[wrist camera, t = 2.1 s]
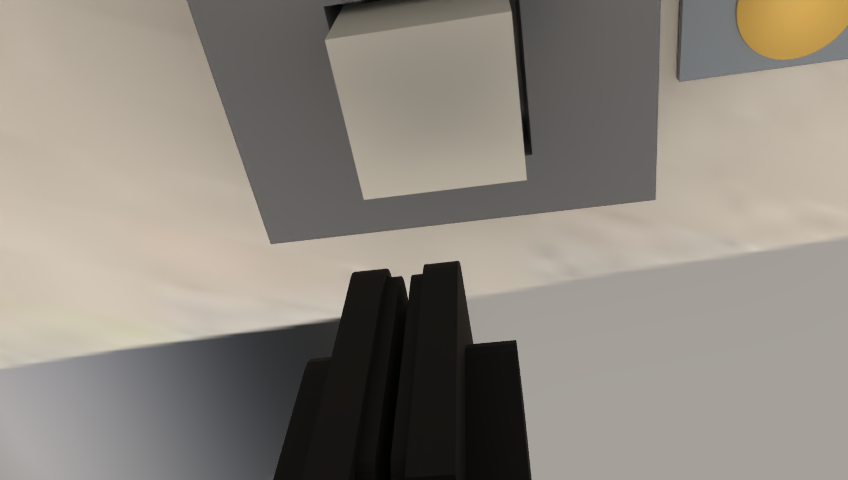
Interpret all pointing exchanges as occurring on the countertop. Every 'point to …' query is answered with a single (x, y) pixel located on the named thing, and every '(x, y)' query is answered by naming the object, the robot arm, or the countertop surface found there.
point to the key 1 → (429, 94)
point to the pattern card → (758, 35)
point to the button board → (542, 191)
